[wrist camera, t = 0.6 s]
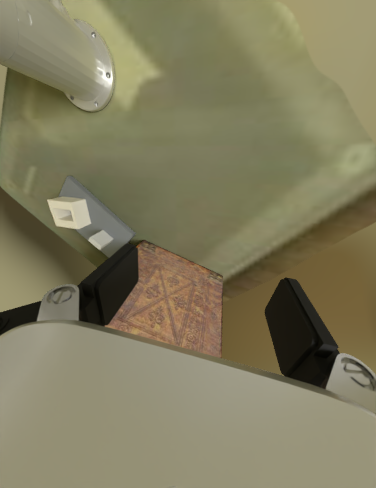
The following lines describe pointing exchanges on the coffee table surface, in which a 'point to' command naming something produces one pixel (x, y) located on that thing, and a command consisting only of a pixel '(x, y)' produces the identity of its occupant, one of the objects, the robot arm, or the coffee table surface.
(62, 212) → the collar
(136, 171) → the coffee table surface
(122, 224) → the grey flat piece
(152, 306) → the book
